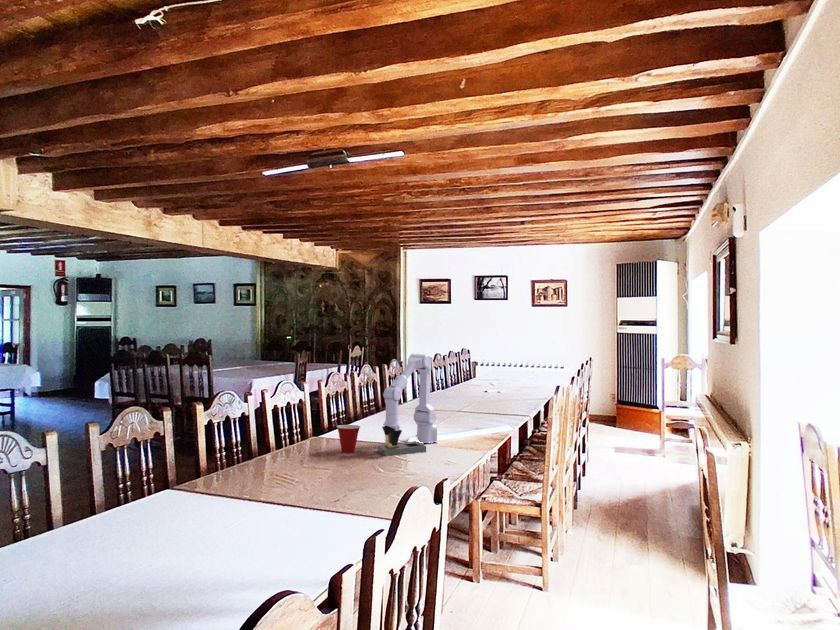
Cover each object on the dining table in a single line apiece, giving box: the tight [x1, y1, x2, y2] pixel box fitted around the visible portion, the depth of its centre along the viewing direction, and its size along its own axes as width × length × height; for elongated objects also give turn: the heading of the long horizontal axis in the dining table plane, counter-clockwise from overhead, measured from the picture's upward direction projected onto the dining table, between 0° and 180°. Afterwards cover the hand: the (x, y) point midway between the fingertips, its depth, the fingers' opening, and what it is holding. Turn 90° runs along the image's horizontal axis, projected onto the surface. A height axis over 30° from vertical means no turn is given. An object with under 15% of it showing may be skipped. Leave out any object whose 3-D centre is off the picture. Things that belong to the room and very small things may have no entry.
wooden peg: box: [384, 433, 397, 449], centre depth 245 cm, size 4×4×8 cm
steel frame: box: [377, 441, 427, 456], centre depth 247 cm, size 20×10×2 cm, turn 113°
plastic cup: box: [336, 424, 361, 454], centre depth 246 cm, size 11×11×12 cm
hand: (391, 443), depth 246 cm, fingers open, 7 cm apart
